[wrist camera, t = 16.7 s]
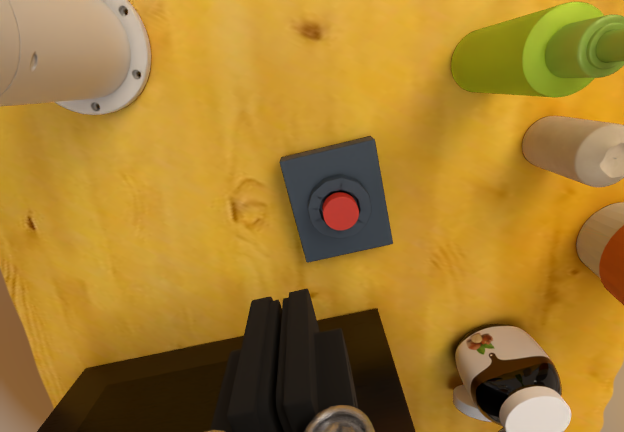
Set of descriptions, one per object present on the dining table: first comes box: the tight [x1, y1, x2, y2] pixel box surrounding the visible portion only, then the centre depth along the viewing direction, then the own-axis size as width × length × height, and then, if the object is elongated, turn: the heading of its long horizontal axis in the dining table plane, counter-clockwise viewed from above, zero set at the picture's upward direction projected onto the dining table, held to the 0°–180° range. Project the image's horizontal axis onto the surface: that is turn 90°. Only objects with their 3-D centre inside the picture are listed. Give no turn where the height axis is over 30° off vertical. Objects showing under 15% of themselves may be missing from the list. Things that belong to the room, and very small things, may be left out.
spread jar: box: [453, 324, 571, 432], centre depth 44 cm, size 12×11×12 cm
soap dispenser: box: [451, 2, 624, 97], centre depth 28 cm, size 6×7×20 cm
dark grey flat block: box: [280, 136, 393, 262], centre depth 40 cm, size 12×10×4 cm
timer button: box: [323, 192, 359, 230], centre depth 37 cm, size 4×4×2 cm
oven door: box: [37, 309, 415, 432], centre depth 35 cm, size 6×40×26 cm, turn 103°
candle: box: [522, 116, 624, 187], centre depth 35 cm, size 6×6×10 cm
